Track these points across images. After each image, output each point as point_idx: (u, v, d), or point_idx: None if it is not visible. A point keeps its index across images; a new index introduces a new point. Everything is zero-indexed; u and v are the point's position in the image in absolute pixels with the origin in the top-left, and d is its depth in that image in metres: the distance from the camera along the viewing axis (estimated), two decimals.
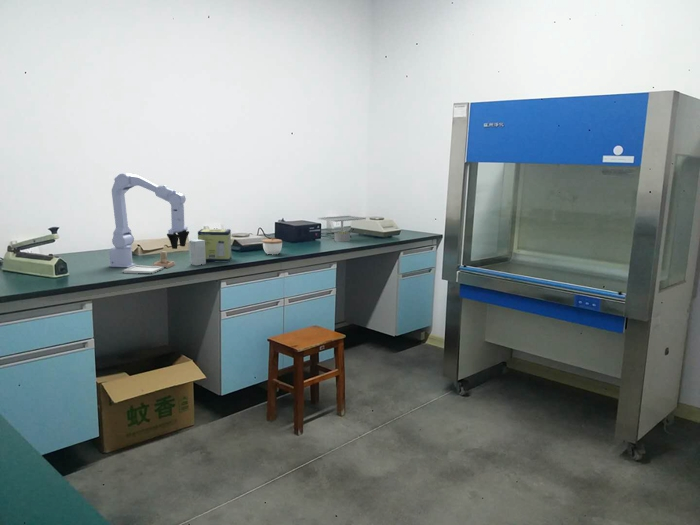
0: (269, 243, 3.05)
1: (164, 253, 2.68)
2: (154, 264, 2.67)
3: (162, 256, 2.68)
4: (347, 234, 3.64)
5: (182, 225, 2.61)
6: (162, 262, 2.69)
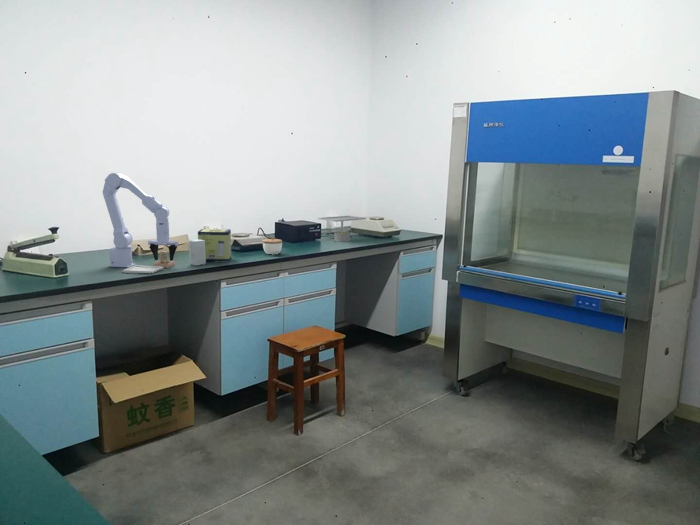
0: (269, 243, 3.05)
1: (164, 253, 2.68)
2: (154, 264, 2.67)
3: (162, 256, 2.68)
4: (347, 234, 3.64)
5: (159, 238, 2.65)
6: (162, 262, 2.69)
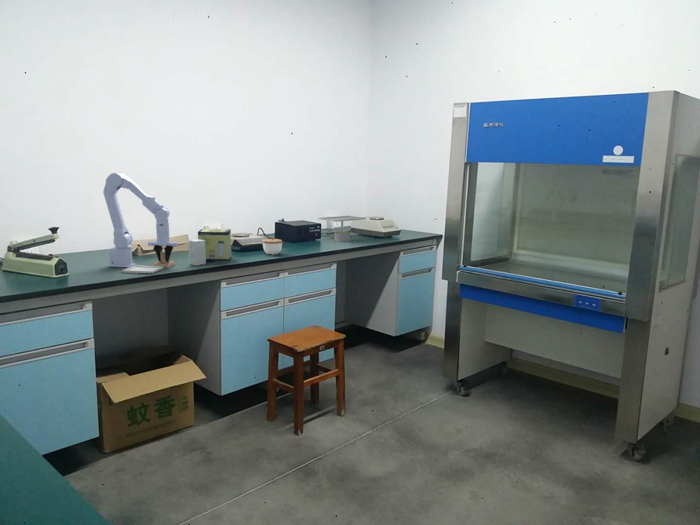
0: (269, 243, 3.05)
1: (164, 253, 2.68)
2: (154, 264, 2.67)
3: (162, 256, 2.68)
4: (347, 234, 3.64)
5: (159, 239, 2.65)
6: (162, 262, 2.69)
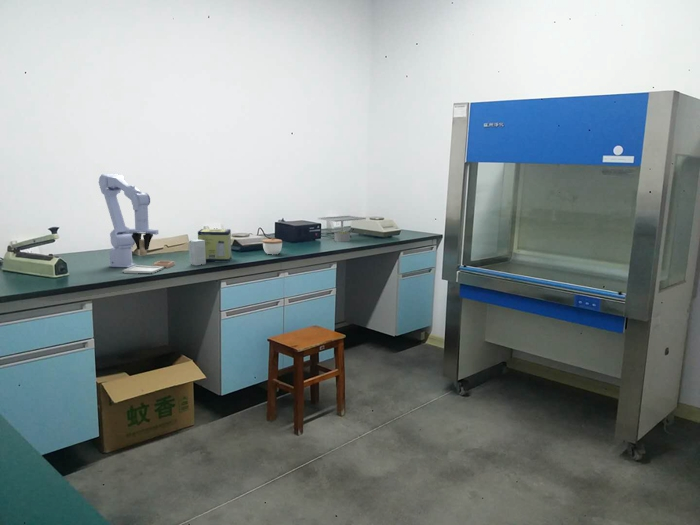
0: (269, 243, 3.05)
1: (143, 241, 2.55)
2: (154, 264, 2.67)
3: (141, 244, 2.55)
4: (347, 234, 3.64)
5: (137, 227, 2.52)
6: (141, 251, 2.55)
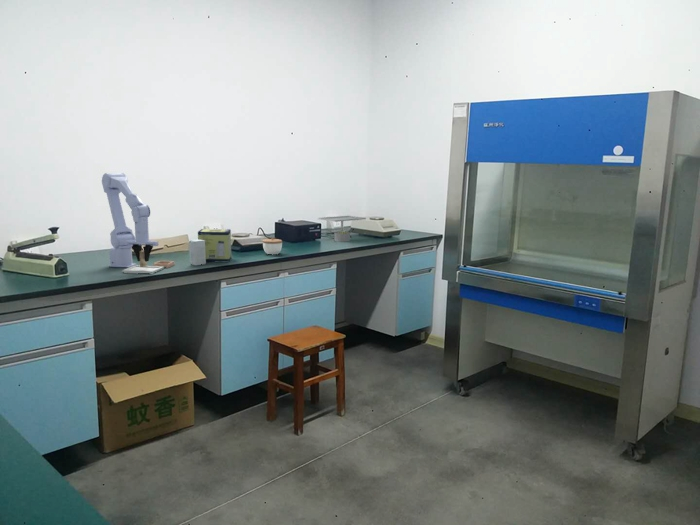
0: (269, 243, 3.05)
1: (143, 252, 2.55)
2: (154, 264, 2.67)
3: (141, 256, 2.55)
4: (347, 234, 3.64)
5: (137, 238, 2.53)
6: (141, 262, 2.56)
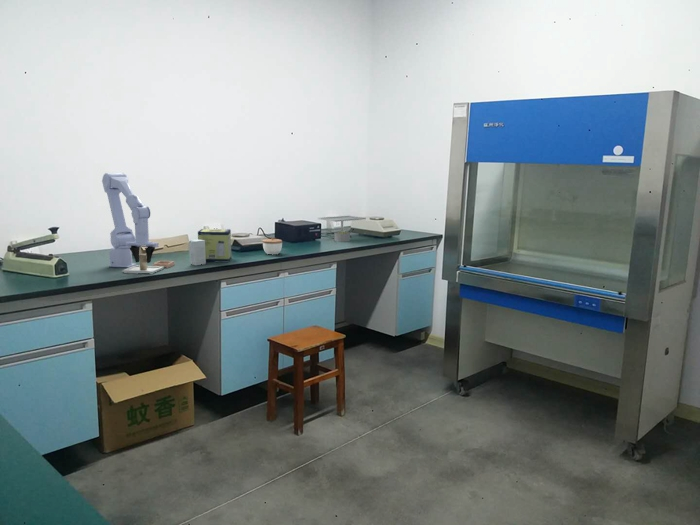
0: (269, 243, 3.05)
1: (143, 256, 2.56)
2: (154, 264, 2.67)
3: (141, 259, 2.56)
4: (347, 234, 3.64)
5: (137, 240, 2.53)
6: (141, 266, 2.56)
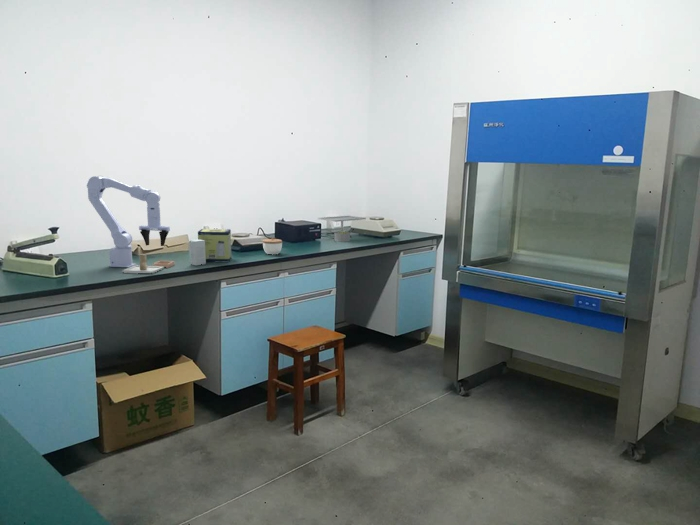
0: (269, 243, 3.05)
1: (143, 256, 2.56)
2: (154, 264, 2.67)
3: (141, 259, 2.56)
4: (347, 234, 3.64)
5: (149, 223, 2.64)
6: (141, 266, 2.56)
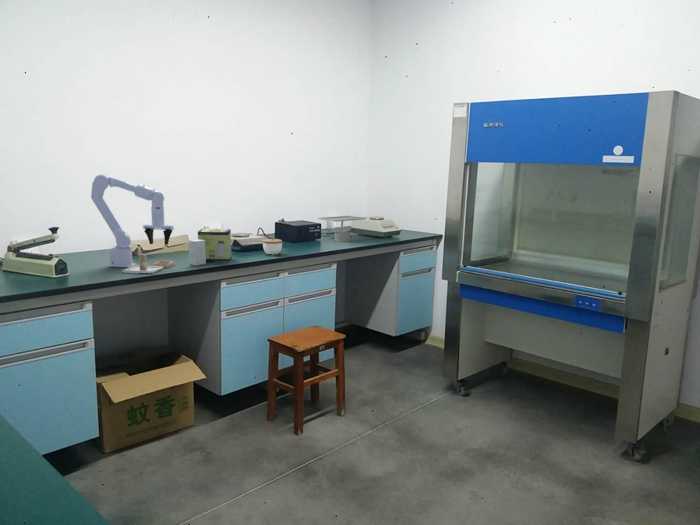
0: (269, 243, 3.05)
1: (143, 256, 2.56)
2: (154, 264, 2.67)
3: (141, 259, 2.56)
4: (347, 234, 3.64)
5: (154, 222, 2.68)
6: (141, 266, 2.56)
